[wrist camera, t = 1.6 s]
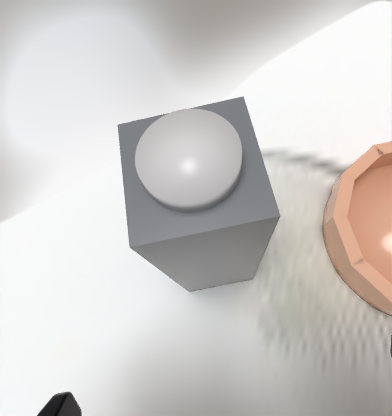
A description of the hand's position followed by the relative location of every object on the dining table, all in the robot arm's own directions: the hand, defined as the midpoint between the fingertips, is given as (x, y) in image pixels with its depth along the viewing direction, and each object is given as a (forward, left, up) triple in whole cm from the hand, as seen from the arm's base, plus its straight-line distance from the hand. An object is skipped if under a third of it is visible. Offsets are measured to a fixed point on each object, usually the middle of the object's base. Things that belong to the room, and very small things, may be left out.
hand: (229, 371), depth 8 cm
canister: (+5, -3, -12) cm, 13 cm away
